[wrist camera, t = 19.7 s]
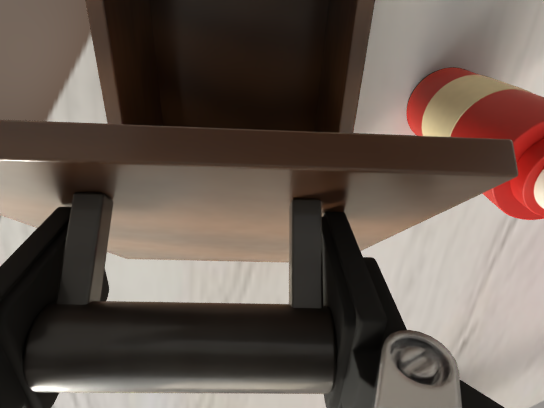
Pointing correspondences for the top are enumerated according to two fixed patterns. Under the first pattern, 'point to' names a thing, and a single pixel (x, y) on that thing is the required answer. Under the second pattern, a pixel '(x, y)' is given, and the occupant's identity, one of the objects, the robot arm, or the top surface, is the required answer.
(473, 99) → the ketchup bottle
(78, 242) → the bread box lid
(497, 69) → the top surface
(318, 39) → the bread box
